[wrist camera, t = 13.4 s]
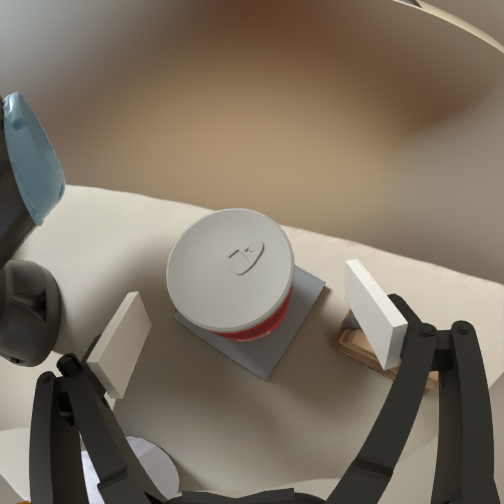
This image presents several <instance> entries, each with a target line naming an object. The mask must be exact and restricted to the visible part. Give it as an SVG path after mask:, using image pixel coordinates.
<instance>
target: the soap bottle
mask: <svg viewBox="0 0 504 504" xmlns="http://www.w3.org/2000/svg"><path fill="white" fill-rule="evenodd" d="M125 438H126V439H127V441H128V443H129V445H130V446H131V448H132V450H133V452H134V453H135V455H136V457H137V458H138V460H139V461H140V463H141V465H142V466H143V468H144V469H145V471H146V472H147V474H148V475H149V477H150V478H151V480H152V481H153V483H154V484H155V486H156V487H157V488H158V490H159V491H160V492H161V493H162V494H163V495H164V496H165V497H166V498H167V499H168V500H169V499H172V498H173V497H174V496H175V494H176V493H177V492H178V490H179V481H180V479H179V476H178V472H177V469H176V467H175V465H174V464H173V462H172V461H171V459H170V458H169V456H168V455H167V454H166V453H164V452H163V451H162V450H161V449H160V448H159V447H158V446H156V445H154V444H152V443H150V442H148V441H147V440H145V439H140V438H136V437H131V436H130V437H125ZM81 455H82V463H83V470H84V477H85V483H86V488H87V494H88V498H89V503H90V504H105V503H104V501H103V499H102V497H101V495H100V493H99V491H98V488H97V484H98V483H100V481H99V478H98V476H97V474H96V472H95V469H94V467H93V465H92V462H91V460H90V458H89V455H88V453H87V450H85V451H82V452H81ZM18 504H30V502H29V501H25V502H21V503H18Z"/></svg>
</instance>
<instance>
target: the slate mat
mask: <svg viewBox="0 0 504 504" xmlns="http://www.w3.org/2000/svg"><path fill="white" fill-rule="evenodd" d="M325 283H326V282H324V281H322V280H321V279H319V278H317V277H315V276H314V275H312V274H310V273H308V272H307V271H305V270H303V269H301V268H299V267H298V266H296V265H295V271H294V279H293V285H292V290H291V295H290V300H289V304H288V309H287V312H286V314H285V317H284V318H283V320H282V322H281V323H280V325H279V326H278V327H277V328H276V329H275V330H274V331H273V332H271V333H270V334H269V335H267V336H265V337H263V338H261V339H258V340H254V341H249V342H240V341H234V340H231V339H228V338H225V337H223V336H220V335H217V334H214V333H212V332H209V331H207V330H204V329H202V328H200V327H198V326H196V325H194V324H193V323H192V322H190V321H189V320H187V319H186V318H185V317H184V316H183V315H182V314H181V313H180V312H179V311H178V309H177V310H176V312H175V313H174V315H173V316H172V317H173V318H174V319H175V320H177V321H178V322H179V323H181V324H182V325H183V326H185V327H186V328H187V329H189V330H190V331H191V332H193V333H194V334H196V335H197V336H198V337H200V338H201V339H203V340H204V341H205V342H207V343H208V344H210V345H211V346H213V347H214V348H216V349H217V350H218V351H220V352H221V353H223V354H224V355H226V356H227V357H229V358H230V359H232V360H233V361H235V362H237V363H238V364H240V365H241V366H243V367H244V368H246V369H247V370H249V371H251V372H252V373H254V374H255V375H257V376H259V377H260V378H262V379H264V380H266V379H267V377H268V376H269V374H270V373H271V371H272V370H273V368H274V367H275V365H276V364H277V362H278V361H279V359H280V358H281V356H282V355H283V353H284V352H285V350H286V348H287V347H288V345H289V344H290V342H291V340H292V339H293V337H294V336H295V334H296V332H297V331H298V329H299V328H300V326H301V324H302V323H303V321H304V319H305V318H306V316H307V314H308V313H309V311H310V309H311V308H312V306H313V304H314V302H315V301H316V299H317V297H318V295H319V294H320V292H321V290H322V288H323V287H324V285H325Z"/></svg>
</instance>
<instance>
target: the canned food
mask: <svg viewBox="0 0 504 504" xmlns="http://www.w3.org/2000/svg"><path fill="white" fill-rule="evenodd" d="M294 271H295V265H294V254H293V251H292V247H291V243H290V241H289V239H288V238H287V236H286V234H285V232H284V231H283V230H282V229H281V227H280V226H279V225H278V224H277V223H276V222H274V221H273V220H272V219H270V218H269V217H267V216H265V215H263V214H261V213H259V212H256V211H253V210H249V209H241V208H233V209H232V208H231V209H223V210H219V211H216V212H212V213H210V214H208V215H206V216H203V217H201V218H200V219H198V220H197V221H195V222H194V223H192V224H191V225H190V226H189V227H188V228H187V229H186V230H185V231H184V232H183V233H182V234H181V236H180V237H179V238H178V240H177V241H176V242H175V244H174V246H173V248H172V250H171V252H170V255H169V259H168V262H167V268H166V282H167V289H168V292H169V295H170V298H171V300H172V302H173V303H174V305H175V307H176V308H177V309H178V311H179V312H180V313H181V314H182V315H183V316H184V317H185V318H186V319H187V320H189V321H190V322H192V323H193V324H194V325H196V326H198V327H200V328H202V329H204V330H207V331H209V332H212V333H214V334H217V335H220V336H223V337H225V338H228V339H231V340H234V341H240V342H249V341H254V340H258V339H261V338H263V337H265V336H267V335H269V334H270V333H271V332H273V331H274V330H275V329H276V328H277V327H278V326H279V325H280V323H281V322H282V320H283V318H284V317H285V314H286V312H287V309H288V304H289V300H290V295H291V290H292V285H293V279H294Z"/></svg>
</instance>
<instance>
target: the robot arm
mask: <svg viewBox="0 0 504 504" xmlns="http://www.w3.org/2000/svg"><path fill="white" fill-rule="evenodd" d="M64 191H65V178H64V174H63V171H62V168H61V166H60V163H59V161H58V159H57V157H56V154H55V152H54V150H53V148H52V146H51V144H50V142H49V140H48V138H47V136H46V134H45V132H44V130H43V128H42V126H41V124H40V123H39V120H38V119H37V117H36V115H35V113H34V111H33V109H32V108H31V106H30V105H29V103H28V102H27V101H26V99H25V98H24V96H23V95H22V94H21V93H19V92H14V93H13V94H11V95H10V94H9V95H8V96H7V97H6V98H5V100H3V99H2V98H1V96H0V356H2V357H4V358H5V359H7V360H8V361H10V362H12V363H14V364H16V365H19V366H27V367H34V366H37V365H39V364H41V363H42V362H43V361H44V360H45V359H46V358H47V357H48V355H49V354H50V352H51V350H52V348H53V346H54V343H55V341H56V337H57V333H58V329H59V322H60V299H59V293H58V289H57V285H56V283H55V280H54V278H53V276H52V275H51V273H50V272H49V271H48V270H47V269H46V268H44V267H42V266H40V265H38V264H37V263H34V262H31V261H24V260H11V257H12V256H13V255H14V253H15V252H16V251H17V250H18V248H19V247H20V246H21V245H22V243H23V242H24V241H25V240H26V239H27V238H28V236H29V235H30V234H31V233H32V232H33V231H34V229H35V228H36V227H37V226H41V225H42V224H43V221H44V218H45V217H46V216H47V215H48V214H49V212H50V211H51V210H52V209H53V208H54V207H55V206H56V205H57V203H58V202H59V201H60V200H61V198H62V197H63V194H64ZM345 299H346V301H347V303H348V305H349V306H350V308H351V310H352V312H353V314H354V315H355V317H356V319H357V321H358V323H359V324H360V326H361V328H362V330H363V332H364V334H365V335H366V337H367V339H368V341H369V343H370V345H371V347H372V348H373V350H374V352H375V354H376V356H377V358H378V360H379V362H380V364H381V366H382V368H383V370H387V369H390V368H394V367H397V366H398V363H399V359H401V364H400V367H399V369H398V372H397V375H396V377H395V380H394V382H393V384H392V387H391V389H390V392H389V394H388V396H387V398H386V401H385V403H384V405H383V407H382V409H381V411H380V414H379V416H378V418H377V420H376V422H375V424H374V426H373V428H372V430H371V432H370V433H369V435H368V437H367V439H366V441H365V443H364V444H363V446H362V448H361V450H360V452H359V453H358V455H357V457H356V458H355V460H354V461H353V462H352V463H351V465H350V466H349V468H348V469H347V471H346V472H345V474H344V476H343V477H342V479H341V480H340V482H339V483H338V485H337V486H336V488H335V489H334V490H333V492H332V493H331V495H330V496H329V497H328V499H327V500H326V501H325V500H323V499H321V498H319V497H316V496H313V495H310V494H305V493H296V492H295V493H294V488H289V489H281V490H271V491H263V492H260V493H257V494H253V495H249V496H245V497H241V498H230V497H225V496H221V495H217V494H212V493H208V492H191V491H182V496H180V497H175V498H172V499H169V500H168V499H167V498H166V497H165V496H164V495H163V494H162V493H161V492H160V491H159V490H158V488H157V487H156V486H155V484H154V483H153V481H152V480H151V478H150V477H149V475H148V474H147V472H146V471H145V469H144V468H143V466H142V465H141V463H140V461H139V460H138V458H137V457H136V455H135V453H134V452H133V450H132V448H131V446H130V445H129V443H128V441H127V439H126V438H125V436H124V434H123V432H122V430H121V428H120V426H119V424H118V423H117V421H116V419H115V417H114V415H113V413H112V410H111V408H110V406H109V404H108V402H107V400H106V399H105V397H104V394H105V392H107V393H108V395H109V396H110V397H111V398H117V399H123V396H124V394H125V391H126V388H127V386H128V383H129V380H130V378H131V375H132V373H133V370H134V368H135V365H136V363H137V360H138V358H139V355H140V353H141V350H142V348H143V345H144V343H145V341H146V338H147V336H148V333H149V331H150V329H151V326H152V324H151V321H150V319H149V317H148V314H147V312H146V309H145V307H144V304H143V302H142V299H141V296H140V294H139V291H137V292H129V293H128V294H127V296H126V297H125V299H124V300H123V302H122V303H121V305H120V306H119V308H118V310H117V311H116V313H115V314H114V316H113V318H112V319H111V321H110V322H109V324H108V326H107V327H106V329H105V330H104V332H103V333H102V334H99V335H98V336H97V337H96V338H95V339H94V341H93V342H92V344H91V346H90V347H89V349H88V351H87V352H86V354H85V356H84V357H83V359H82V361H81V362H80V361H79V360H78V358H77V357H76V355H75V354H73V353H68V354H65V355H64V356H62V357H61V358H60V359H59V360H58V362H57V365H56V366H57V368H58V369H59V371H60V372H61V374H62V375H63V376H61V377H56V376H55V375H54V373H53V372H51V371H47V372H44V373H42V374H41V375H40V376H39V378H38V380H37V383H36V389H35V397H34V403H33V411H32V420H31V431H30V449H29V480H30V497H31V503H30V504H90V503H89V498H88V494H87V488H86V483H85V477H84V470H83V463H82V455H81V445H80V435H79V434H81V437H82V440H83V442H84V445H85V448H86V450H87V453H88V455H89V458H90V460H91V462H92V465H93V467H94V469H95V472H96V474H97V476H98V478H99V481H100V483H98V484H97V488H98V491H99V493H100V495H101V497H102V499H103V501H104V503H105V504H377V503H378V501H379V499H380V498H381V496H382V494H383V492H384V491H385V489H386V486H387V485H388V483H389V481H390V479H391V477H392V474H393V470H394V468H395V465H396V463H397V461H398V459H399V457H400V455H401V452H402V450H403V448H404V446H405V443H406V441H407V438H408V436H409V433H410V431H411V428H412V426H413V423H414V420H415V418H416V415H417V412H418V409H419V406H420V403H421V400H422V397H423V393H424V390H425V387H426V383H427V380H428V376H429V372H433V371H438V379H439V436H438V451H437V461H436V470H435V477H434V484H433V490H432V497H431V504H500V500H499V496H498V492H497V488H496V485H495V481H494V478H493V477H494V440H493V425H492V414H491V405H490V397H489V391H488V385H487V379H486V374H485V369H484V364H483V359H482V355H481V351H480V347H479V343H478V339H477V335H476V332H475V329H474V327H473V325H471V324H470V323H469V322H466V321H462V320H461V321H456V322H454V323H453V325H452V327H451V330H437V329H436V327H434V326H433V325H431V324H428V323H422V321H421V320H420V319H419V318H418V316H417V315H416V314H415V313H414V312H413V310H412V309H410V307H409V306H408V304H406V302H405V301H404V300H403V298H402V297H400V296H398V295H396V294H395V293H394V294H390V295H386V294H385V293H384V291H383V290H382V289H381V288H380V286H379V285H378V284H377V283H376V281H375V280H374V279H373V278H372V277H371V275H370V274H369V273H368V272H367V271H366V269H365V268H364V267H363V266H362V265H361V263H360V262H359V261H358V260H357V259H354V260H348V261H345ZM79 431H80V433H79Z"/></svg>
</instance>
